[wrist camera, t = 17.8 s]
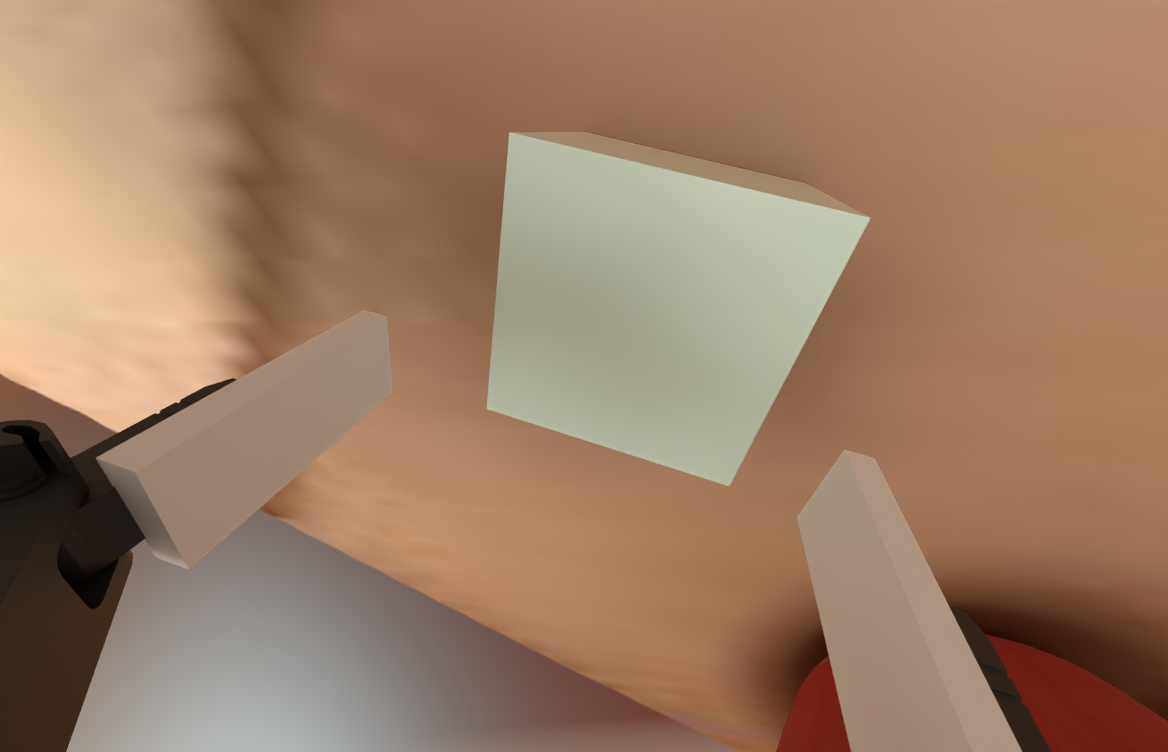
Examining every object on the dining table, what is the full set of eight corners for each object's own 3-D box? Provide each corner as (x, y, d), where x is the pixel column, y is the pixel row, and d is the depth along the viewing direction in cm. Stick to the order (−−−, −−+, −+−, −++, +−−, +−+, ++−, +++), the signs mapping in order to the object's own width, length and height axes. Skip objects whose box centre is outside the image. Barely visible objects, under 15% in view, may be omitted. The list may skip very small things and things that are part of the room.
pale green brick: (584, 131, 20) (509, 132, 12) (806, 183, 19) (870, 217, 11) (552, 327, 25) (486, 409, 18) (722, 377, 24) (729, 486, 17)
